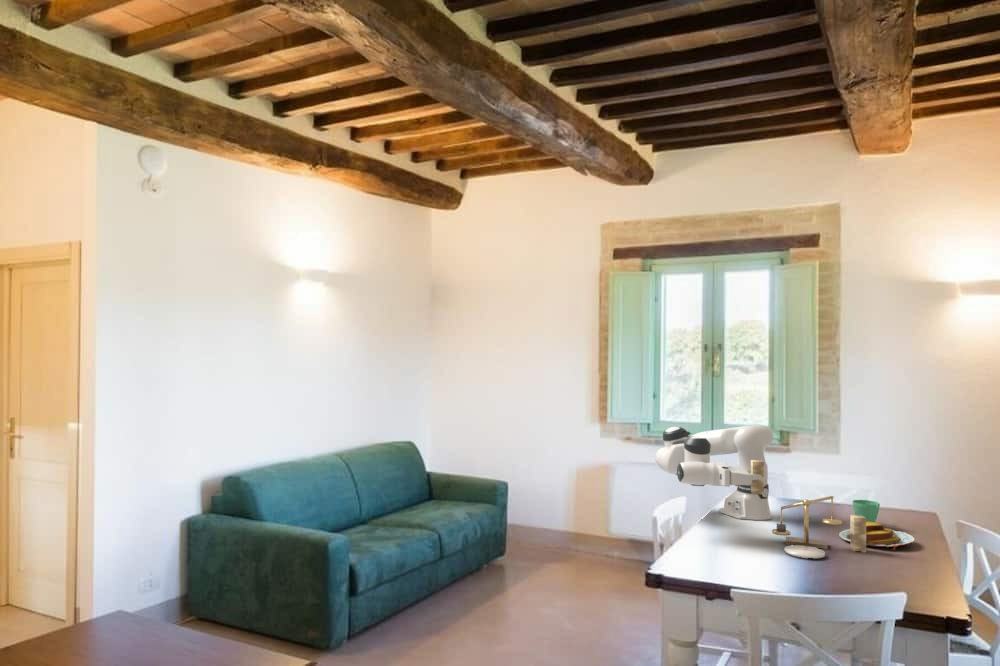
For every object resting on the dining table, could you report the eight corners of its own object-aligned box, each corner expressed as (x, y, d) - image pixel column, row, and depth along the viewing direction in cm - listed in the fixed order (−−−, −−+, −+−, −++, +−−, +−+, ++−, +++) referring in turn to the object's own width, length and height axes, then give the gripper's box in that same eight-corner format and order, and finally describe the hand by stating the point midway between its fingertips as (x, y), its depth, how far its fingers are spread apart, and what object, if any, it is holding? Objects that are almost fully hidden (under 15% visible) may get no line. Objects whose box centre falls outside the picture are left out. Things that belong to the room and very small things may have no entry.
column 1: (752, 493, 266) (752, 461, 267) (750, 491, 270) (750, 460, 271) (763, 494, 266) (764, 461, 266) (761, 492, 270) (761, 460, 270)
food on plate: (912, 556, 249) (912, 537, 249) (834, 545, 263) (834, 527, 263) (916, 540, 271) (915, 522, 271) (843, 530, 284) (843, 514, 284)
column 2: (854, 551, 253) (854, 517, 253) (850, 548, 256) (850, 515, 257) (866, 552, 252) (866, 518, 252) (862, 549, 256) (862, 515, 256)
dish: (776, 552, 250) (776, 548, 250) (800, 547, 257) (800, 543, 257) (809, 562, 239) (809, 557, 239) (833, 557, 246) (833, 552, 246)
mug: (880, 531, 283) (879, 505, 283) (852, 528, 287) (852, 503, 287) (879, 523, 296) (879, 499, 296) (852, 520, 300) (852, 496, 301)
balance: (771, 543, 262) (771, 492, 263) (772, 538, 269) (772, 489, 269) (842, 551, 253) (842, 498, 254) (841, 546, 259) (841, 495, 260)
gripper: (717, 477, 280) (754, 479, 278) (725, 487, 260) (765, 489, 258) (717, 461, 280) (754, 463, 278) (725, 470, 260) (765, 471, 258)
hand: (759, 475), depth 268 cm, fingers closed on column 1, 4 cm apart
